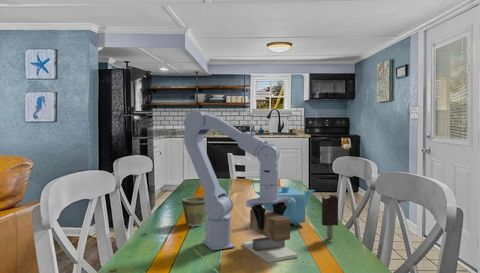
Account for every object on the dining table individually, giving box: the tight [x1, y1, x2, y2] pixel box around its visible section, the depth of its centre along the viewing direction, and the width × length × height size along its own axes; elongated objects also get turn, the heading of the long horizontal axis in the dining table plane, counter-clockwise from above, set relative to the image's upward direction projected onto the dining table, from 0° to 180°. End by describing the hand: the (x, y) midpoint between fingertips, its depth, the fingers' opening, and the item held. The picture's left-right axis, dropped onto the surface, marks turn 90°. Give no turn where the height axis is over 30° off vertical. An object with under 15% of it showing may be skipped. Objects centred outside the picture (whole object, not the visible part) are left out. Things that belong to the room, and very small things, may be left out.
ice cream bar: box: [321, 194, 339, 240], centre depth 127 cm, size 5×2×15 cm, turn 95°
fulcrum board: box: [241, 236, 299, 263], centre depth 115 cm, size 17×10×4 cm, turn 25°
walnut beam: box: [249, 208, 291, 242], centre depth 114 cm, size 16×5×6 cm, turn 25°
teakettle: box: [254, 185, 316, 227], centre depth 148 cm, size 19×19×15 cm
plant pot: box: [181, 196, 207, 227], centre depth 147 cm, size 13×10×10 cm
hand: (268, 228), depth 114 cm, fingers closed on walnut beam, 5 cm apart
